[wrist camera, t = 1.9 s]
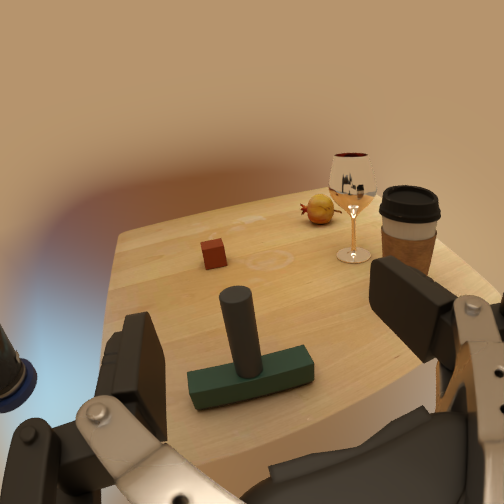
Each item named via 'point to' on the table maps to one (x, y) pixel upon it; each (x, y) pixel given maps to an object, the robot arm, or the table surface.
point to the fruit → (319, 209)
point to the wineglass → (352, 195)
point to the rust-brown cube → (213, 254)
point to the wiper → (247, 360)
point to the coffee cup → (409, 225)
